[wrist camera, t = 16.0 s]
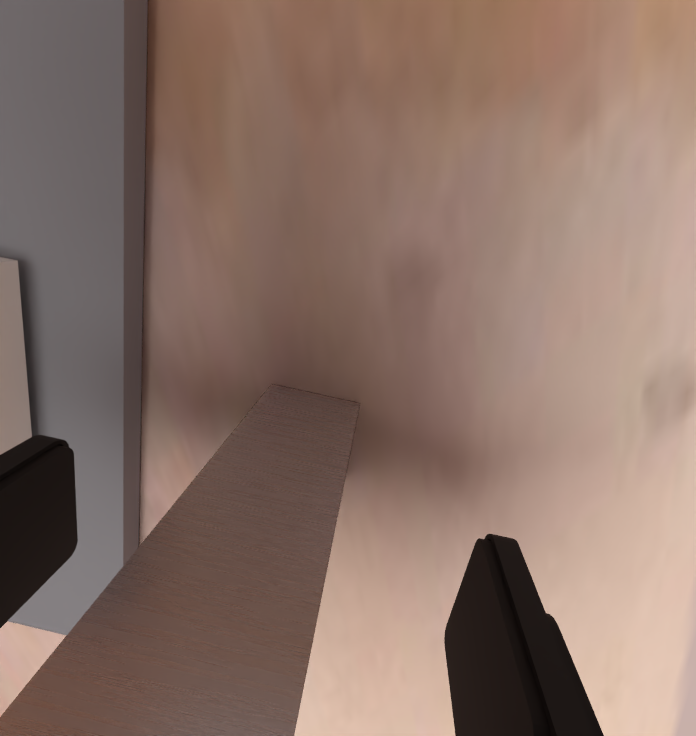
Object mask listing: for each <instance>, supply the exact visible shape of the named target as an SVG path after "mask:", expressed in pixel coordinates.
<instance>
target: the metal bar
mask: <svg viewBox="0 0 696 736" xmlns="http://www.w3.org/2000/svg"><path fill="white" fill-rule="evenodd" d="M359 406H360V403H357V402H353V401H348V400H343V399H339V398H334V397H329V396H325V395H320V394H315V393H311V392H306V391H301V390H297V389H292V388H287V387H283V386H278V385H273V384H271V385H270V387H269V388H268V389H267V390H266V392H265V393H264V394H263V395H262V397H261V398H260V399H259V400H258V401H257V403H256V404H255V405H254V406H253V408H252V409H251V410H250V411H249V412H248V414H247V415H246V416H245V417H244V419H243V420H242V421H241V422H240V424H239V425H238V426H237V427H236V428H235V430H234V431H233V432H232V433H231V435H230V436H229V437H228V438H227V439H226V441H225V442H224V443H223V444H222V446H221V447H220V448H219V449H218V451H217V452H216V453H215V454H214V455H213V457H212V458H211V459H210V460H209V462H208V463H207V464H206V465H205V466H204V468H203V469H202V470H201V471H200V473H199V474H198V475H197V476H196V478H195V479H194V480H193V481H192V482H191V484H190V485H189V486H188V487H187V489H186V490H185V491H184V492H183V493H182V495H181V496H180V497H179V498H178V500H177V501H176V502H175V503H174V505H173V506H172V507H171V508H170V509H169V511H168V512H167V513H166V514H165V516H164V517H163V518H162V519H161V520H160V522H159V523H158V524H157V525H156V527H155V528H154V529H153V530H152V531H151V533H150V534H149V535H148V536H147V538H146V539H145V540H144V541H143V543H142V544H141V545H140V546H139V547H138V549H137V550H136V551H135V552H134V554H133V555H132V556H131V557H130V558H129V560H128V561H127V562H126V563H125V565H124V566H123V567H122V568H121V570H120V571H119V572H118V573H117V574H116V576H115V577H114V578H113V579H112V581H111V582H110V583H109V584H108V585H107V587H106V588H105V589H104V590H103V592H102V593H101V594H100V595H99V597H98V598H97V599H96V600H95V601H94V603H93V604H92V605H91V606H90V608H89V609H88V610H87V611H86V612H85V614H84V615H83V616H82V617H81V619H80V620H79V621H78V622H77V624H76V625H75V626H74V627H73V628H72V630H71V631H70V632H69V633H68V635H67V636H66V637H65V638H64V639H63V641H62V642H61V643H60V644H59V646H58V647H57V648H56V649H55V651H54V652H53V653H52V654H51V655H50V657H49V658H48V659H47V660H46V662H45V663H44V664H43V665H42V666H41V668H40V669H39V670H38V671H37V673H36V674H35V675H34V676H33V678H32V679H31V680H30V681H29V682H28V684H27V685H26V686H25V687H24V689H23V690H22V691H21V692H20V693H19V695H18V696H17V697H16V698H15V700H14V701H13V702H12V703H11V705H10V706H9V707H8V708H7V709H6V711H5V712H4V713H3V714H2V716H1V717H0V736H294V733H295V728H296V723H297V718H298V713H299V708H300V703H301V698H302V693H303V688H304V683H305V678H306V673H307V668H308V663H309V658H310V653H311V648H312V643H313V638H314V632H315V627H316V622H317V617H318V612H319V607H320V602H321V597H322V592H323V587H324V582H325V577H326V572H327V567H328V562H329V557H330V552H331V547H332V542H333V537H334V532H335V527H336V522H337V517H338V512H339V507H340V502H341V497H342V492H343V487H344V482H345V477H346V472H347V466H348V461H349V456H350V451H351V446H352V441H353V436H354V431H355V426H356V421H357V416H358V411H359Z"/></svg>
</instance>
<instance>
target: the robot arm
mask: <svg viewBox="0 0 696 736" xmlns="http://www.w3.org/2000/svg"><path fill="white" fill-rule="evenodd" d="M77 542H78V535H77V512H76V489H75V466H74V452H73V450H72V449H71V448H69V444H68V443H67V441H65V440H63V439H58V438H54V437H49V436H45V435H35V436H33V437H31V438H29V439H27V440H26V441H24V442H22V443H20V444H18V445H17V446H15V447H13V448H11V449H10V450H8V451H6V452H4V453H3V454H1V455H0V628H1V627H2V626H3V625H4V624H5V623H6V622H7V621H8V620H9V619H10V618H11V617H12V616H13V615H14V614H15V613H16V612H17V611H18V610H19V609H20V608H21V607H22V606H23V605H24V604H25V603H26V602H27V601H28V600H29V599H30V598H31V597H32V596H33V595H34V594H35V593H36V592H37V591H38V590H39V589H40V588H41V587H42V586H43V585H44V584H45V583H46V582H47V581H48V579H49V578H50V577H51V576H52V575H53V574H54V573H55V572H56V571H57V570H58V569H59V568H60V567H61V566H62V565H63V564H64V563H65V562H66V561H67V560H68V559H69V558H70V557H71V556H72V554H73V553H74V551H75V549H76V546H77ZM445 652H446V660H447V668H448V676H449V685H450V693H451V701H452V709H453V718H454V726H455V734H456V736H604V735H603V733H602V730H601V728H600V726H599V723H598V721H597V718H596V716H595V714H594V711H593V709H592V706H591V704H590V701H589V699H588V697H587V694H586V692H585V689H584V687H583V685H582V682H581V680H580V677H579V675H578V672H577V670H576V668H575V665H574V663H573V660H572V658H571V656H570V653H569V651H568V648H567V646H566V643H565V641H564V639H563V636H562V634H561V631H560V629H559V627H558V625H557V623H556V621H555V619H554V618H553V617H552V616H551V615H550V614H547V613H545V610H544V608H543V605H542V603H541V600H540V598H539V595H538V592H537V590H536V587H535V585H534V582H533V580H532V577H531V575H530V572H529V570H528V567H527V565H526V562H525V560H524V557H523V555H522V552H521V549H520V547H519V544H518V543H517V541H516V540H515V539H511V538H507V537H502V536H498V535H493V534H488V535H487V536H486V537H485V539H478V540H477V541H476V543H475V546H474V549H473V551H472V554H471V557H470V560H469V563H468V566H467V569H466V571H465V574H464V577H463V580H462V583H461V586H460V588H459V591H458V594H457V597H456V600H455V603H454V606H453V608H452V611H451V614H450V617H449V620H448V623H447V626H446V630H445Z"/></svg>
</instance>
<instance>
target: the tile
mask: <svg viewBox="0 0 696 736" xmlns="http://www.w3.org/2000/svg"><path fill="white" fill-rule="evenodd" d="M31 437H32V431H31V419H30V406H29V394H28V382H27V369H26V357H25V345H24V332H23V320H22V307H21V295H20V283H19V270H18V260H13V259H8V258H3V257H0V455H1V454H3V453H4V452H6V451H8V450H10V449H11V448H13V447H15V446H17V445H18V444H20V443H22V442H24V441H26V440H27V439H29V438H31Z"/></svg>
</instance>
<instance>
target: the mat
mask: <svg viewBox="0 0 696 736" xmlns="http://www.w3.org/2000/svg"><path fill="white" fill-rule="evenodd" d="M147 17H148V0H0V257H3V258H8V259H13V260H18V270H19V283H20V295H21V307H22V320H23V332H24V345H25V357H26V369H27V382H28V394H29V406H30V419H31V431H32V437H33V436H35V435H45V436H49V437H54V438H58V439H63V440H65V441H67V443H68V444H69V448H71V449H72V450H73V452H74V466H75V489H76V512H77V535H78V542H77V546H76V549H75V551H74V553H73V554H72V556H71V557H70V558H69V559H68V560H67V561H66V562H65V563H64V564H63V565H62V566H61V567H60V568H59V569H58V570H57V571H56V572H55V573H54V574H53V575H52V576H51V577H50V578H49V579H48V581H47V582H46V583H45V584H44V585H43V586H42V587H41V588H40V589H39V590H38V591H37V592H36V593H35V594H34V595H33V596H32V597H31V598H30V599H29V600H28V601H27V602H26V603H25V604H24V605H23V606H22V607H21V608H20V609H19V610H18V611H17V612H16V613H15V614H14V615H13V616H12V617H11V618H10V619H9V620H8V621H9V622H13V623H18V624H22V625H26V626H30V627H34V628H38V629H42V630H47V631H51V632H55V633H59V634H63V635H68V633H69V632H70V631H71V630H72V628H73V627H74V626H75V625H76V624H77V622H78V621H79V620H80V619H81V617H82V616H83V615H84V614H85V612H86V611H87V610H88V609H89V608H90V606H91V605H92V604H93V603H94V601H95V600H96V599H97V598H98V597H99V595H100V594H101V593H102V592H103V590H104V589H105V588H106V587H107V585H108V584H109V583H110V582H111V581H112V579H113V578H114V577H115V576H116V574H117V573H118V572H119V571H120V570H121V568H122V567H123V566H124V565H125V563H126V562H127V561H128V560H129V558H130V557H131V556H132V555H133V554H134V552H135V551H136V550H137V549H138V547H139V495H140V435H141V375H142V316H143V256H144V196H145V137H146V77H147Z"/></svg>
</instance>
